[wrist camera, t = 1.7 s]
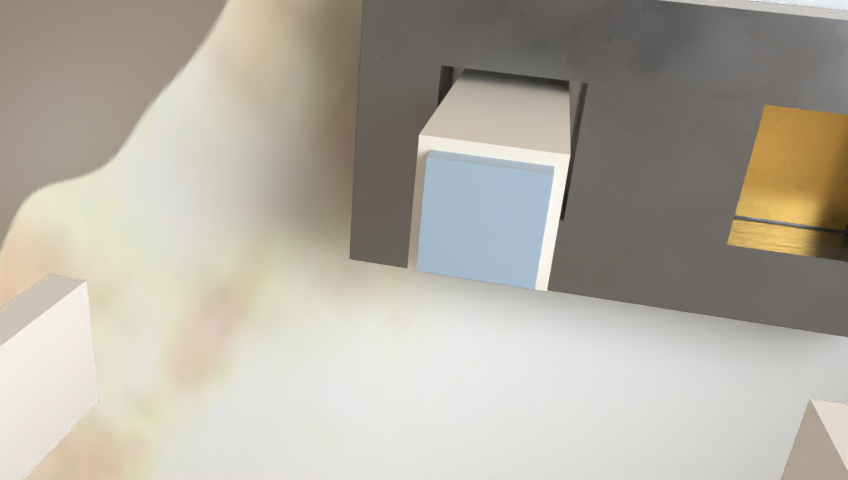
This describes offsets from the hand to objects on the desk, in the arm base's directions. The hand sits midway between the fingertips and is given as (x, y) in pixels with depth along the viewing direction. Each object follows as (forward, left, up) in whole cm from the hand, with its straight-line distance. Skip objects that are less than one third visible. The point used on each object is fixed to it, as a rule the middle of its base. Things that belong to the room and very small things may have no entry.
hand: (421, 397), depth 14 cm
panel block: (-6, 0, -22) cm, 23 cm away
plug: (0, 0, -21) cm, 21 cm away
